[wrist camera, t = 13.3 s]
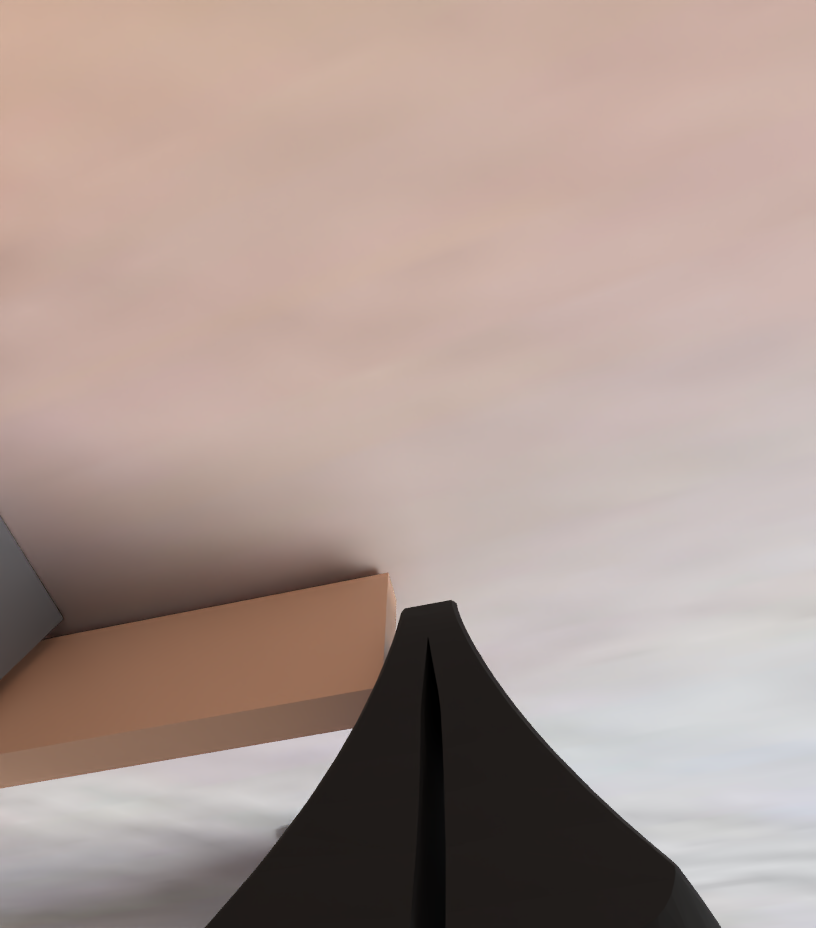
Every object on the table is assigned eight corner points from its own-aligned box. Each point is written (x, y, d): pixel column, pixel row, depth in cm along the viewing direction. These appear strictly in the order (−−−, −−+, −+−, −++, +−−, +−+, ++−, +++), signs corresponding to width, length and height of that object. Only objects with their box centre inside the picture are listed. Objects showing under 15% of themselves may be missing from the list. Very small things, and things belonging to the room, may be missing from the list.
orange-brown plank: (396, 600, 13) (393, 720, 10) (-64, 687, 14) (-226, 826, 11) (388, 572, 13) (382, 687, 9) (-82, 664, 14) (-258, 799, 10)
